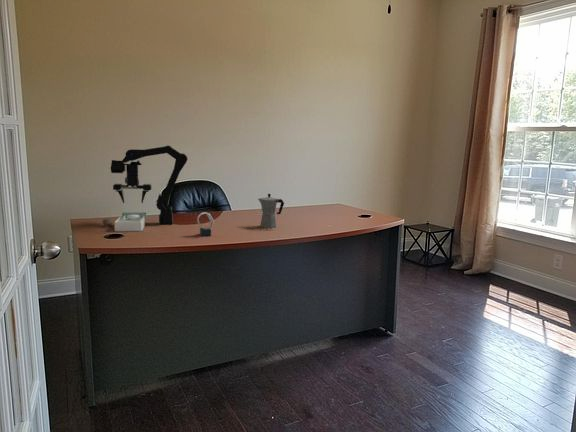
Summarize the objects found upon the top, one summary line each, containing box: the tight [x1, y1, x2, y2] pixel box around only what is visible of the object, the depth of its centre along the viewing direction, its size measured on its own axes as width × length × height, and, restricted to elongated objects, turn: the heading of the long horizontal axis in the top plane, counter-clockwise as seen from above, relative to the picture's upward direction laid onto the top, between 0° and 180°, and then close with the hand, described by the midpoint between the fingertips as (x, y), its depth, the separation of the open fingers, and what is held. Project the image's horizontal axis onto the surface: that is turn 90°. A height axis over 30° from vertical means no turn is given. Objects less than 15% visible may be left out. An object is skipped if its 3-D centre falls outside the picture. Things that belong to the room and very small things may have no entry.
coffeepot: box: [257, 193, 285, 229], centre depth 244 cm, size 15×9×18 cm, turn 66°
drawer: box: [120, 211, 148, 222], centre depth 237 cm, size 12×16×4 cm
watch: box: [196, 212, 215, 237], centre depth 218 cm, size 6×8×11 cm
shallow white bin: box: [114, 216, 146, 232], centre depth 228 cm, size 12×16×4 cm
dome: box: [127, 215, 139, 220], centre depth 239 cm, size 6×6×2 cm
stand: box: [102, 218, 112, 228], centre depth 230 cm, size 4×4×4 cm
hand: (132, 203), depth 238 cm, fingers open, 9 cm apart
